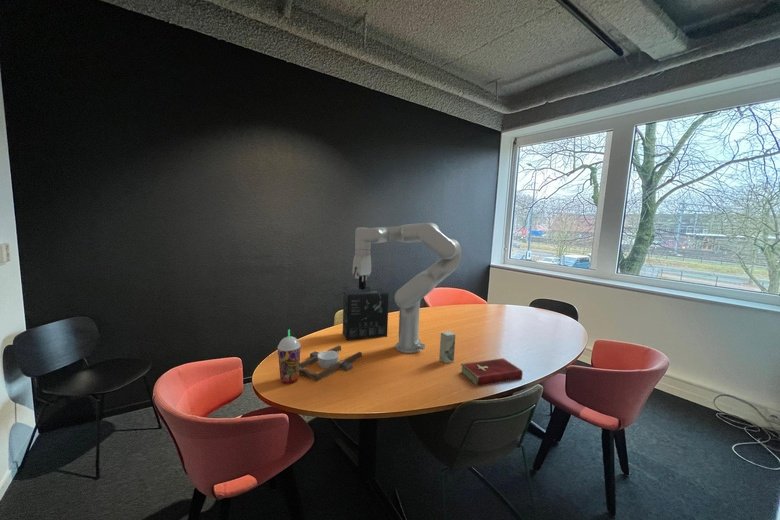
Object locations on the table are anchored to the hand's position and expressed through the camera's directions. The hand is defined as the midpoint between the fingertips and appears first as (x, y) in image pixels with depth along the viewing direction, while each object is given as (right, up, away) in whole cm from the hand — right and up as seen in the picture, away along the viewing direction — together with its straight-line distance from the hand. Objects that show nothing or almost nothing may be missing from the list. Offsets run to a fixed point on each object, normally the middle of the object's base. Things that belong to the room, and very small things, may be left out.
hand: (362, 288), depth 161 cm
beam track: (-12, -30, -23) cm, 39 cm away
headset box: (0, -26, +12) cm, 29 cm away
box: (+39, -31, -18) cm, 53 cm away
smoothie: (-24, -32, -38) cm, 55 cm away
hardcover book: (+55, -33, -30) cm, 71 cm away
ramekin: (-13, -30, -24) cm, 41 cm away
